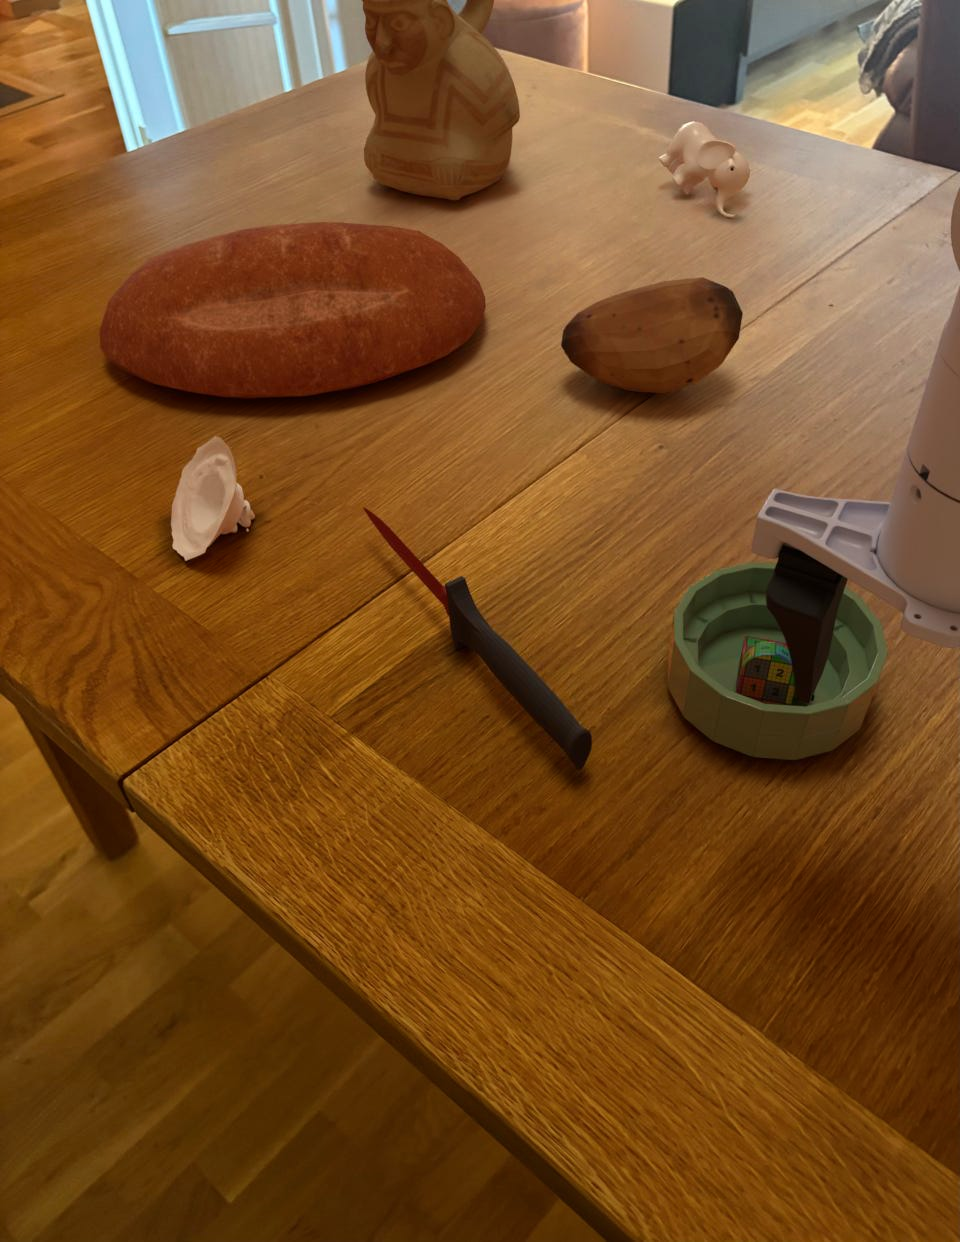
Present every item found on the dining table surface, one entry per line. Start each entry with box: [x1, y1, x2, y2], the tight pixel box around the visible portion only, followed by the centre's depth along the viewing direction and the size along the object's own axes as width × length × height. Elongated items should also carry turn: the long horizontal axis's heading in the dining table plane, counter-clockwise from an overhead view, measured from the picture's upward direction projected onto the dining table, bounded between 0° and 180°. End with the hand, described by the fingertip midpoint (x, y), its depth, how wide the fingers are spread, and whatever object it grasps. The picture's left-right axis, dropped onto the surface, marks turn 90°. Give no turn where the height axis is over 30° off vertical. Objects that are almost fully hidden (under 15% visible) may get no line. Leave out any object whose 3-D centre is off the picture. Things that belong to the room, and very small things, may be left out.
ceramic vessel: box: [361, 0, 521, 201], centre depth 99 cm, size 17×20×25 cm
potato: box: [560, 277, 744, 394], centre depth 77 cm, size 8×13×8 cm
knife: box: [362, 506, 593, 772], centre depth 60 cm, size 24×2×5 cm, turn 33°
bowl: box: [667, 561, 889, 761], centre depth 57 cm, size 11×11×4 cm
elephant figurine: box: [658, 121, 754, 219], centre depth 100 cm, size 7×12×6 cm
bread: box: [99, 221, 487, 399], centre depth 84 cm, size 23×32×9 cm
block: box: [735, 635, 815, 706], centre depth 55 cm, size 6×4×3 cm
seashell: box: [170, 435, 256, 562], centre depth 68 cm, size 8×5×8 cm
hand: (896, 717), depth 44 cm, fingers open, 7 cm apart
